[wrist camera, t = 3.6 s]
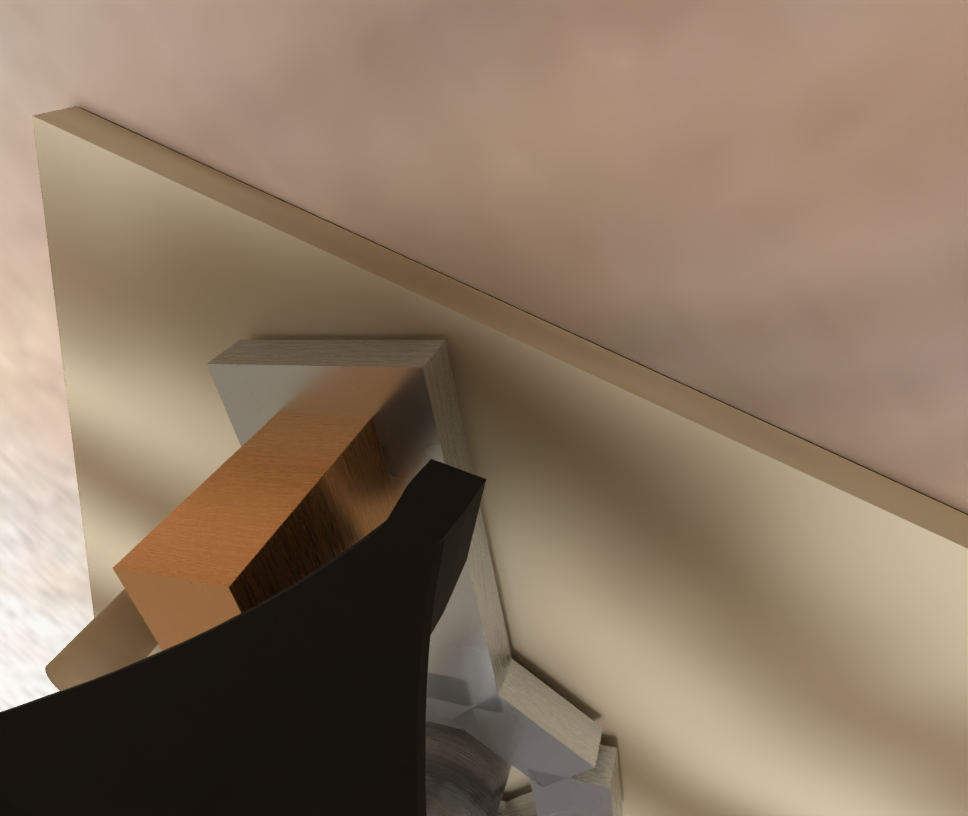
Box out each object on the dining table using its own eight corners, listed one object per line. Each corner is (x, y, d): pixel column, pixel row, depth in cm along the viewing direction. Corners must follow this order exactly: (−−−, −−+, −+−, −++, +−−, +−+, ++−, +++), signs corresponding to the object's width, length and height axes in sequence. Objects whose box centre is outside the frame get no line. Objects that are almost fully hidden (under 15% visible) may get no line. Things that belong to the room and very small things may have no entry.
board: (695, 932, 23) (693, 967, 22) (119, 627, 24) (98, 649, 24) (1255, 647, 11) (1293, 699, 10) (76, 106, 13) (32, 115, 12)
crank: (628, 869, 19) (596, 1103, 15) (359, 793, 22) (274, 970, 18) (576, 340, 11) (471, 562, 7) (151, 339, 14) (-91, 490, 10)
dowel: (213, 593, 19) (106, 718, 16) (165, 568, 19) (49, 687, 16) (215, 560, 18) (102, 686, 15) (165, 534, 18) (41, 653, 15)
